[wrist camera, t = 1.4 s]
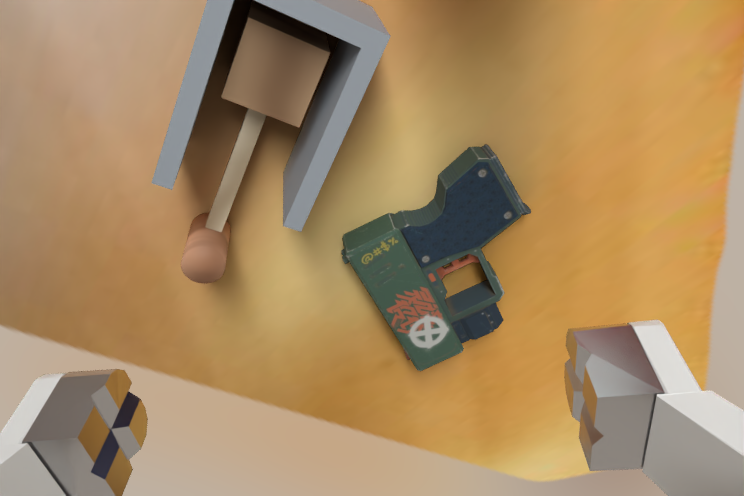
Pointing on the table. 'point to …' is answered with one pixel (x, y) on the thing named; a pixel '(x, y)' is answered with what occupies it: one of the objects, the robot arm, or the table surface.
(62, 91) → the table surface
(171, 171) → the grey u-shaped bracket
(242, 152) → the wooden mallet
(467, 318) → the gun
